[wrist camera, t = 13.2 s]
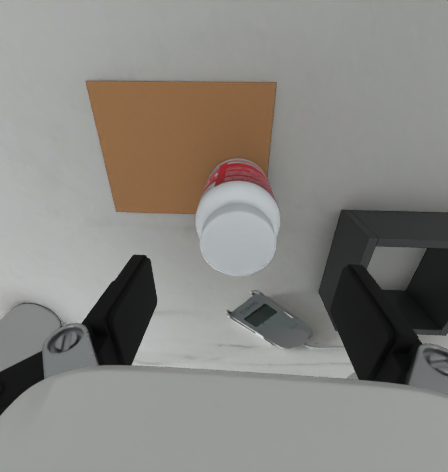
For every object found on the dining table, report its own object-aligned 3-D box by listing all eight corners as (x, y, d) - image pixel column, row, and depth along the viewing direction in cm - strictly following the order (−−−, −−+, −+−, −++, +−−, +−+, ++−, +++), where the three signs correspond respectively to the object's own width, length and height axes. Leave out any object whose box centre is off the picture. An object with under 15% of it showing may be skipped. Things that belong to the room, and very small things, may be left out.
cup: (14, 295, 33) (-53, 353, 25) (85, 320, 35) (42, 381, 28) (11, 324, 37) (-50, 384, 29) (76, 346, 39) (35, 407, 31)
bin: (454, 212, 24) (513, 242, 19) (409, 295, 30) (445, 335, 25) (341, 209, 25) (369, 238, 20) (318, 292, 31) (335, 331, 25)
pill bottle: (211, 151, 22) (192, 189, 13) (274, 163, 22) (304, 208, 13) (203, 211, 25) (183, 278, 16) (259, 220, 25) (273, 292, 16)
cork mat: (275, 82, 20) (276, 82, 19) (262, 214, 26) (263, 216, 25) (87, 81, 20) (85, 80, 20) (117, 210, 26) (116, 211, 26)
